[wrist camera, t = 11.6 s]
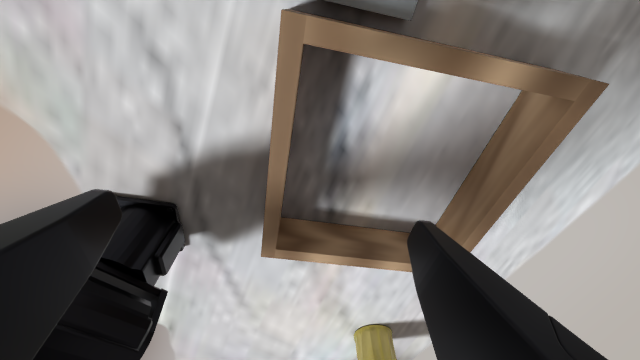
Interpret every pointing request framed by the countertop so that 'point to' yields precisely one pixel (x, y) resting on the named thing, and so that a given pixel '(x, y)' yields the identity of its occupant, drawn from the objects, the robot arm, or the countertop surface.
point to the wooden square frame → (484, 178)
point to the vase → (374, 343)
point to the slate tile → (383, 7)
